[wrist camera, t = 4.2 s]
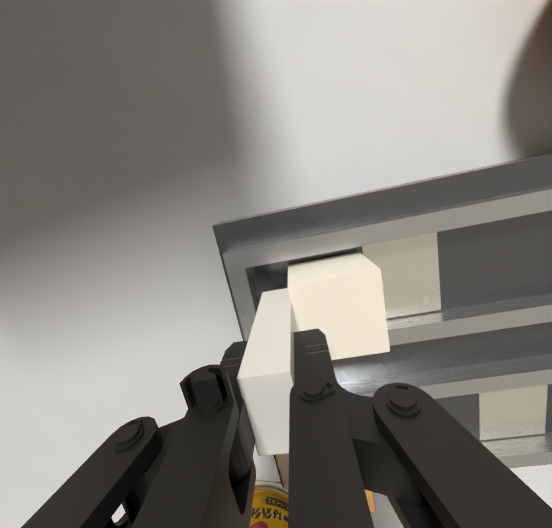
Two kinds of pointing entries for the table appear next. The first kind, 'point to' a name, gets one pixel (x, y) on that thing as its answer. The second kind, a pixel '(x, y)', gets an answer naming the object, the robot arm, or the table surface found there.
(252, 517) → the condiment
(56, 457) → the table surface
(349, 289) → the block
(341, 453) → the robot arm
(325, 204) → the grey slotted tray
